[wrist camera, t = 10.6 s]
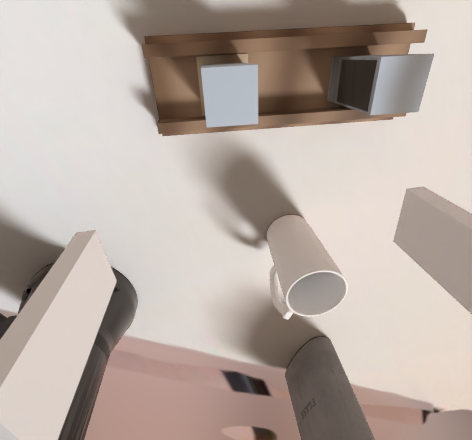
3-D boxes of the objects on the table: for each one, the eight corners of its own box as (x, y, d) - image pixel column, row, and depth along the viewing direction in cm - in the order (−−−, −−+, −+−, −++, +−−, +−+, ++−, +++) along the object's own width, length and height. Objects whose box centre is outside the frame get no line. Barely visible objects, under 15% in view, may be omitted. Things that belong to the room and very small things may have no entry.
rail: (164, 133, 31) (147, 163, 22) (146, 37, 26) (117, 27, 17) (386, 117, 32) (454, 139, 24) (407, 23, 28) (500, 8, 19)
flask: (308, 333, 52) (360, 469, 35) (335, 337, 53) (397, 470, 36) (277, 378, 59) (308, 511, 41) (302, 381, 60) (341, 510, 43)
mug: (281, 204, 37) (311, 261, 27) (320, 223, 39) (361, 282, 29) (244, 258, 41) (257, 325, 31) (281, 272, 43) (305, 339, 33)
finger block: (206, 108, 29) (206, 127, 21) (201, 65, 27) (200, 68, 19) (244, 106, 29) (258, 123, 21) (243, 62, 27) (258, 64, 19)
